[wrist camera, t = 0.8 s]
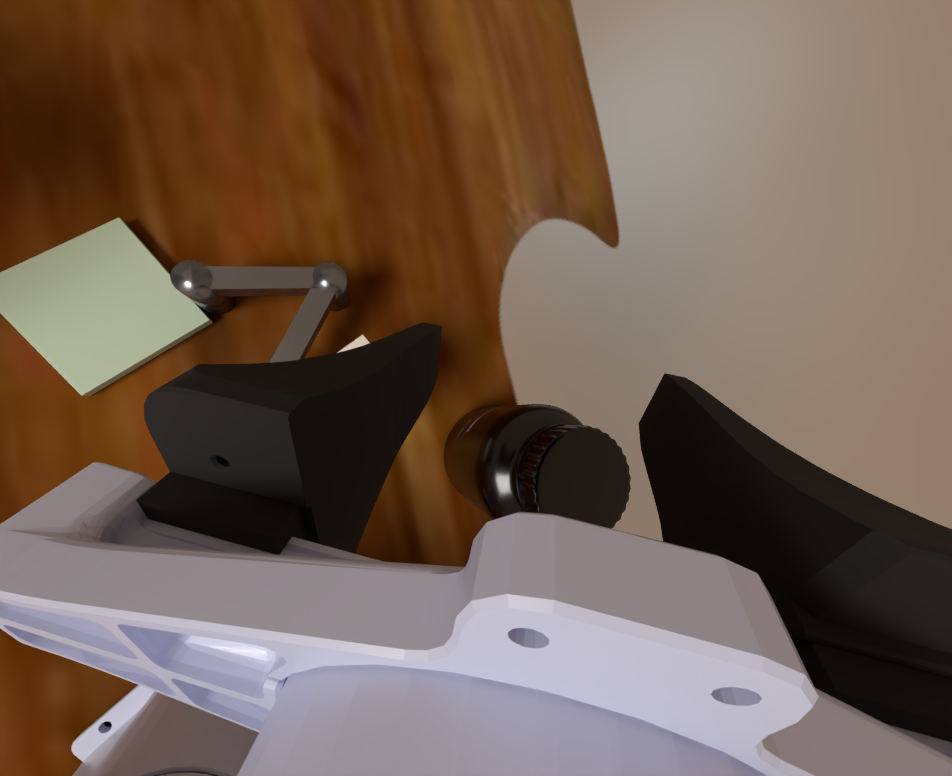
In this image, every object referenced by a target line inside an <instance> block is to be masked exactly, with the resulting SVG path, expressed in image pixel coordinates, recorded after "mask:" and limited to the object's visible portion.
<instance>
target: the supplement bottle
mask: <svg viewBox="0 0 952 776" xmlns="http://www.w3.org/2000/svg"><path fill="white" fill-rule="evenodd" d="M444 465H445V469H446V473H447V475H448V478H449V480H450V481H451V483H452V484H453V486H454V487H455V488H456V490H457V491H458V492H459V493H461V494H462V495H463V496H464V497H465V498H466V499H468V500H469V501H470V502H472V503H473V504H474V505H475V506H477V507H478V508H479V509H480V510H482V511H483V512H484V513H485V514H487V515H488V516H489V517H491V518H492V519H493V520H495V519H498V518H501V517H504V516H508V515H511V514H514V513H517V512H530V513H543V514H554V515H558V516H562V517H566V518H570V519H574V520H578V521H582V522H586V523H590V524H594V525H598V526H602V527H606V528H610V529H611V528H613V527H614V526H615V523H616V522H617V521H619V520H620V519H621V515H622V513H623V512H624V511H625V509H626V503H627V502H628V500H629V492H630V489H631V488H630V479H631V477H630V474H629V466H628V464H627V462H626V457H625V455H624V454H623V453H622V449H621V448H620V447H619V446H618V445H617V443H616V441H615V440H613V439H611V438H610V437H609V435H608V434H607V433H603V432H602V431H601V430H600V429H597V428H592V427H590V426H584V425H583V424H582V423H581V422H580V421H579V420H578V419H577V418H576V417H574V416H573V415H572V414H570V413H568V412H567V411H565V410H563V409H561V408H558V407H555V406H551V405H544V404H531V405H529V404H528V405H513V406H497V407H486V408H480V409H477V410H474V411H472V412H470V413H468V414H466V415H465V416H463V417H462V418H461V419H460V420H459V421H458V422H457V423H456V424H455V425H454V426H453V428H452V430H451V431H450V433H449V435H448V437H447V440H446V443H445V448H444Z"/></svg>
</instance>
